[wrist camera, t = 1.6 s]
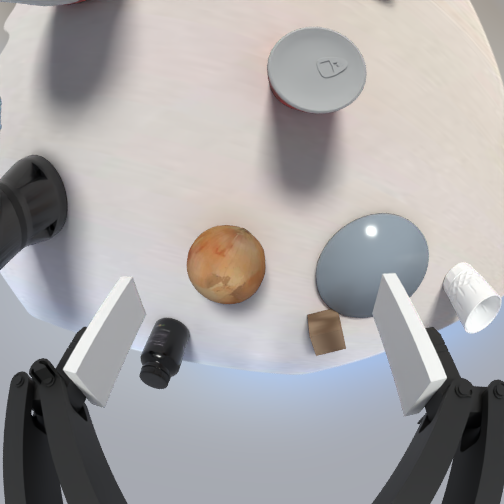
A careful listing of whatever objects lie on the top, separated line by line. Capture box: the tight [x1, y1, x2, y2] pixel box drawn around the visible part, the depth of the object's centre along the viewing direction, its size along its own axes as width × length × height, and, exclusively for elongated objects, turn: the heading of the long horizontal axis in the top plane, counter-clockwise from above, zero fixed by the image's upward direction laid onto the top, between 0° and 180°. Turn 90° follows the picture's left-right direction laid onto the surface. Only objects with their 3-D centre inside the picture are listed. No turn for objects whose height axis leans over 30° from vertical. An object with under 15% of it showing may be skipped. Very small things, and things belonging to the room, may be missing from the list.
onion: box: [187, 225, 265, 304], centre depth 34 cm, size 10×10×10 cm
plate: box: [316, 213, 429, 318], centre depth 38 cm, size 18×18×1 cm
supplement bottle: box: [140, 318, 189, 389], centre depth 43 cm, size 7×7×12 cm
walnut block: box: [307, 309, 346, 356], centre depth 42 cm, size 5×5×5 cm
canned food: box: [267, 27, 366, 114], centre depth 22 cm, size 8×8×11 cm
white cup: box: [443, 262, 501, 333], centre depth 34 cm, size 8×8×10 cm
